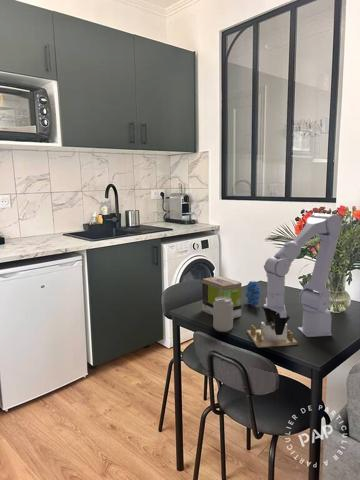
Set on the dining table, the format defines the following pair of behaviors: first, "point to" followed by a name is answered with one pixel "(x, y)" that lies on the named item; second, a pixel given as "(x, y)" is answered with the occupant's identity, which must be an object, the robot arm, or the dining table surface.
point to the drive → (272, 332)
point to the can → (223, 314)
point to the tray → (259, 342)
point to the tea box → (221, 293)
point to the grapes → (253, 293)
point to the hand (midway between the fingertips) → (274, 329)
